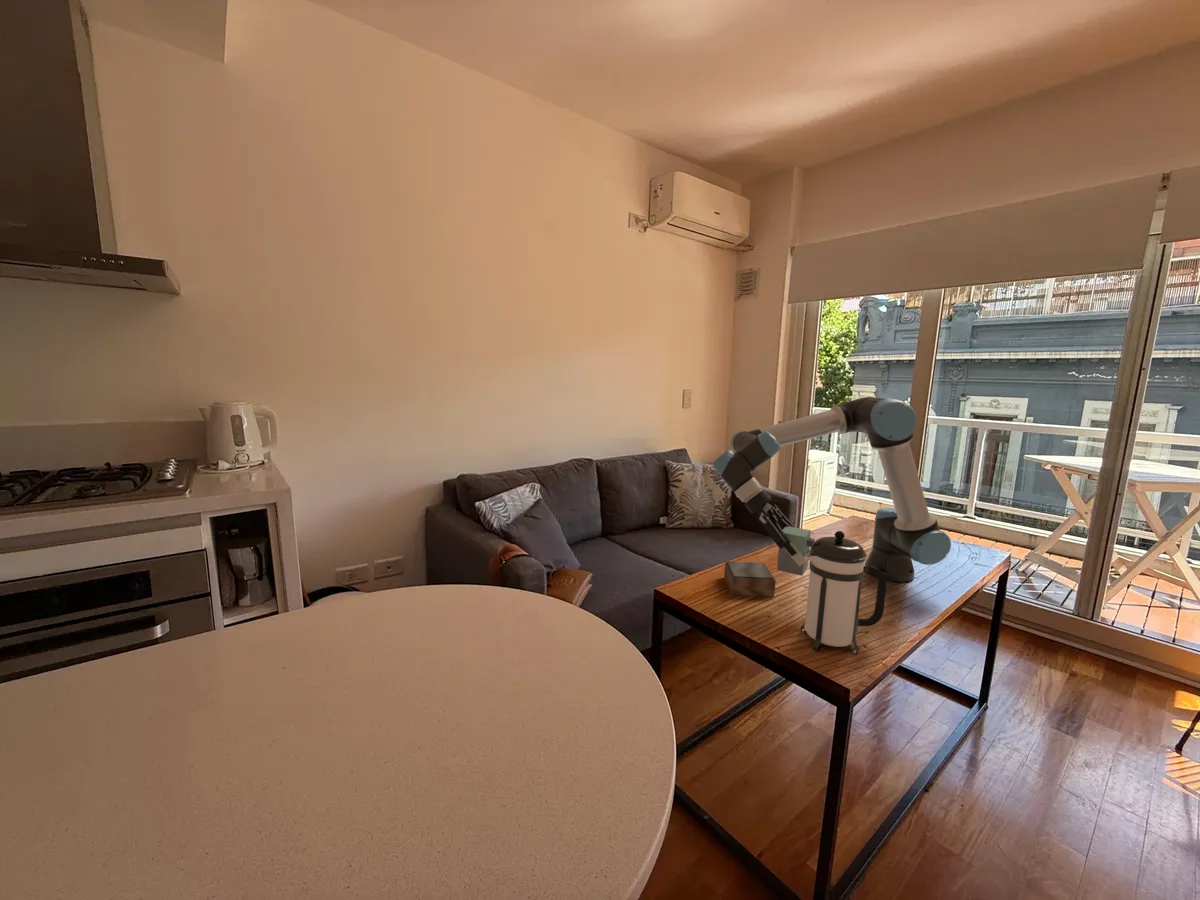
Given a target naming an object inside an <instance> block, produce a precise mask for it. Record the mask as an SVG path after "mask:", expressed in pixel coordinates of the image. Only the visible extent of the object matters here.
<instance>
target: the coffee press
mask: <svg viewBox="0 0 1200 900" xmlns="http://www.w3.org/2000/svg"><path fill="white" fill-rule="evenodd" d="M805 560H808V561H809V569H810V570H809V580H808V590H807V600H806V601H807V602H806V610H805V611H806V612H805V621H804V623H803V624H802V625H801V626H800V630H801V631H802V632H805V633H807V635H808V636H809V637H810V638H811V639H813V640H814V642H813V645H812V650H813V651H814V650H815V651H816V652H820V651H821V648H822V647H823V645H824V646H825V645H826V646H829V647H835V648H836V647H837V648H838V647H840V648H841V647H847V648H848V649H849V650H850V651H851V653H852V652H855V651H856V652H855V653H856V654H857V653H858V652H860V647H859V645H858V644H857V641H856V639H857V631H858V627H870V626H874V625H875V624H877V623H878V622H879V621H880V620H881V619H882V617H883V614H884V609H885V604H886V603H885V602H886V596H887V595H886V594H887V580H886V578H885V576H884V574H883V573H882V572H881V571H880V570H879V569H878V568H876V567H872V566H865V561H866V560H867V554H866V552H865V550H864V548H863V546H861V545H860V544H859V543H857V542H855V541H854V540H851V539H848V538H845V532H843V531H841V530H837V531H835V533H834V536H824V537H820V538H818V539H815V542H814V544H813V545H811V547H810V551H809V553H808V554H807V556H806V558H805ZM865 574H869V575H871V574H874V575H876V577H875V578H876V579H877V589H876V599H875V606H874V611H873V613H872V614H871V616H870V617H868V618H859V611H860V602H861V593H862V585H863V584H862V583H863V578H864V575H865ZM852 644H853V646H852ZM854 648H855V649H854Z"/></svg>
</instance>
